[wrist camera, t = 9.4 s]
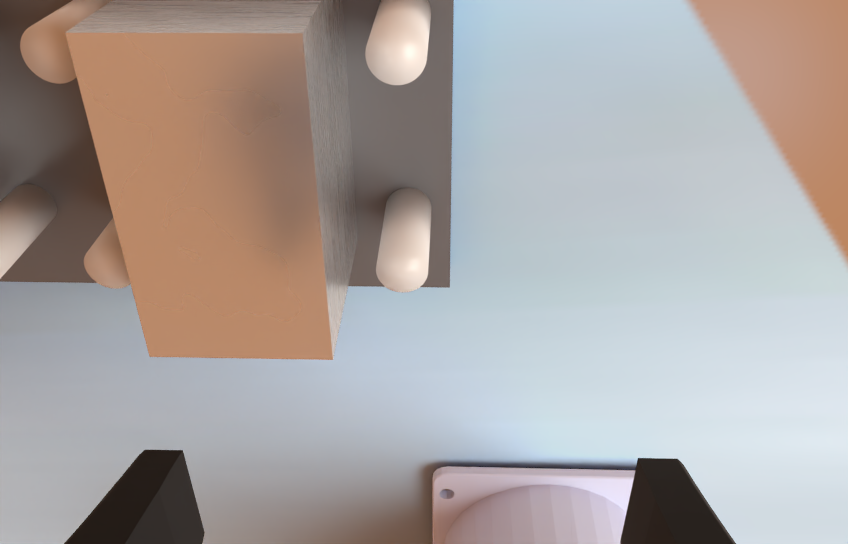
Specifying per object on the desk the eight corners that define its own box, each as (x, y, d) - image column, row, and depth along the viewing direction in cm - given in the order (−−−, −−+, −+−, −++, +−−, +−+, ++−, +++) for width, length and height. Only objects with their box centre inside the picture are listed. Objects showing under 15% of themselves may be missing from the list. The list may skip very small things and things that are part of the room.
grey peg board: (449, 267, 22) (448, 356, 19) (-188, 259, 23) (-297, 343, 20) (454, -115, 17) (454, -86, 14) (-383, -113, 18) (-580, -83, 14)
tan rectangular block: (357, 240, 21) (332, 359, 17) (208, 238, 21) (146, 356, 17) (340, -33, 17) (302, 33, 13) (157, -33, 17) (60, 32, 13)
